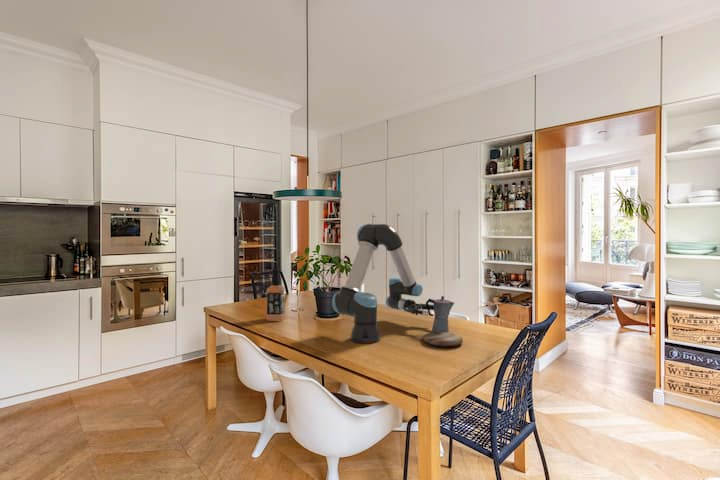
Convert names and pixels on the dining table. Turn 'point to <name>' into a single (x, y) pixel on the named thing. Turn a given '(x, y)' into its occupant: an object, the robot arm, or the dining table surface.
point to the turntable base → (442, 346)
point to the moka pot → (440, 314)
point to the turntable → (443, 339)
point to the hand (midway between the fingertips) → (435, 311)
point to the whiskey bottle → (275, 299)
